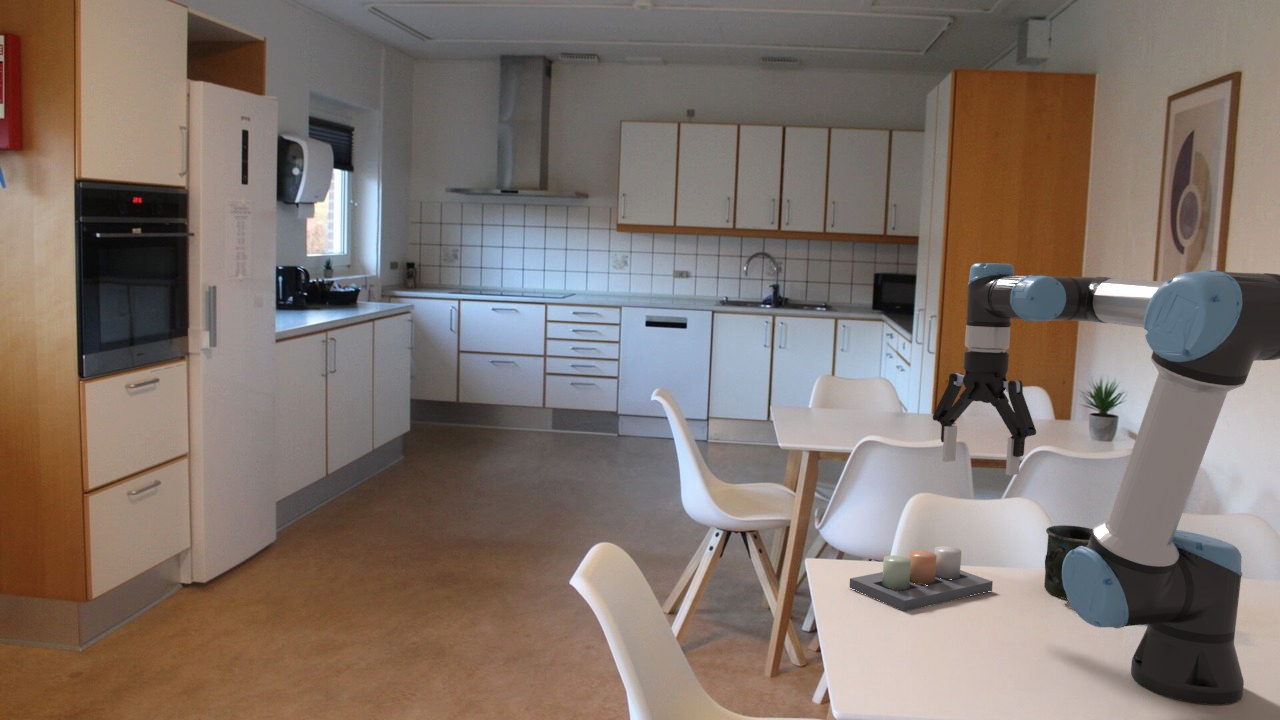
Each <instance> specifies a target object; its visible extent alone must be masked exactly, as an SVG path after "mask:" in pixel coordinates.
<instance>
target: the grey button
mask: <svg viewBox="0 0 1280 720" xmlns="http://www.w3.org/2000/svg"><path fill="white" fill-rule="evenodd" d="M934 554H936V555H937V559H936V574H935V576H937V577H941V578H942V579H945V578H946V579H945V580H948V579H956V578H959V577H960V570H961V564H962V563H961V562H962V550H961V549H960V548H957V547H953V546H946V545H945V546H943V545H942V546H941V545H940V546H935V547H934Z"/></svg>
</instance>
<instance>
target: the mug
mask: <svg viewBox="0 0 1280 720" xmlns="http://www.w3.org/2000/svg"><path fill="white" fill-rule="evenodd" d="M1045 531H1046V532H1045V533H1046V534H1047V547H1046V555H1045V559H1044V570H1045V572H1044V573H1045V575H1044V584H1043V585H1044V589H1045V590H1046V592H1047V593H1049V594H1050V595H1052V596H1054V597H1058V598H1061V599H1065V600H1068V598H1067V595H1066V592H1065V590H1064V586H1063V581H1062V566H1063V561H1064V559H1065V557H1066V555H1067V554H1068V553H1069V552H1070V551H1071V550H1074V549H1076V548H1077V547H1079V546H1084V547H1086V546H1087V545H1088V543H1089V540H1090V537H1091V534H1092V531H1093V528H1091V527H1085V526H1076V525H1066V524H1064V525H1062V524H1061V525H1052V526H1048V527H1047V528H1046V529H1045Z"/></svg>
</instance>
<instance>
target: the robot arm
mask: <svg viewBox="0 0 1280 720" xmlns="http://www.w3.org/2000/svg"><path fill="white" fill-rule="evenodd" d="M969 269H970V270H969V277H968V283H967V301H966V302H967V303H966V326H965V335H964V336H965V337H964V346H965V347H966V348H968V349H967V350H965V351H964V359H963V369H964V371H965V374H963V373H962V372H955V373H954V372H953V373H950V374H949V377H948V384H947V387H946V389H945V390H944V392H943V394H942V396H941V399H940V401H939V403H938V404H937V407H936V408H935V410H934V413H933V414H932V419H933V421H935V422H938V423H940V426H941V427H940V429H941V430H940V441H941V443H943V449H942V462H944V463H945V462H947V463H948V462H955V461H956V453H957V438H958V437H957V436H958V425H956V423H955V422H956V421H957V420H959V418H960V416H962V414H964V412H965V411H966V409H967V408H968V407H969V406H971V404H972V403H973V402H982V403H985V404H986V403H987V404H991V406H993V407H994V408H995V409H996V411H997V413H998V414H999V416H1000V418H1001V419H1002V421H1003V422H1004V425H1005V426H1006V428H1007V430H1008V431H1009V434H1011V436H1010V437H1007V447H1006V448H1007V449H1006V466H1005V475H1006V476H1015V475H1019V474H1020V463H1021V457H1023V456H1024V455H1025V443H1026V439H1027V437H1033V436H1035V435H1036V434H1037V430H1036V427H1035V424H1034V421H1033V419H1032V418H1033V417H1032V415H1031V412H1030V410H1029V407H1028V403H1027V401H1026V398H1025V396H1024V391H1023V381H1022V380H1019V379H1018V380H1009V381H1007V373H1008V371H1009V361H1010V359H1009V357H1010V355H1009V354H1008V352H1007V351H1006V350H1008V349H1009V348H1010V341H1011V339H1010V337H1011V326H1012V320H1013V319H1015V320H1021V321H1026V322H1031V323H1033V322H1036V323H1037V322H1038V323H1040V322H1041V323H1043V322H1049V321H1055V322H1056V321H1067V322H1068V321H1069V322H1070V321H1071V322H1072V321H1075V322H1076V321H1077V322H1092V323H1098V324H1111V325H1112V324H1114V325H1119V326H1120V325H1121V326H1129V327H1137V328H1143V329H1144V330H1146V331H1147V333H1146V334H1145V335H1144V336H1145V340H1146V342H1147V345H1148V346H1149V348H1150V349H1151V350H1152V352H1151V353H1152V354H1151V356H1150V359H1151V362H1152V363H1153V365H1154V366H1155V368H1156V369H1157V373H1158V374H1157V377H1156V380H1155V382H1154V386H1153V388H1152V392H1151V395H1150V397H1149V400H1148V403H1147V406H1146V409H1145V412H1144V414H1143V418H1142V421H1141V423H1140V426H1139V429H1138V432H1137V435H1136V438H1135V441H1134V444H1133V447H1132V450H1131V453H1130V456H1129V458H1128V461H1127V464H1126V467H1125V470H1124V473H1123V475H1122V479H1121V482H1120V484H1119V488H1118V491H1117V494H1116V497H1115V499H1114V502H1113V506H1112V509H1111V512H1110V514H1109V517H1108V518H1106V519H1104V520H1101V521H1099V522H1097V523H1096V524H1095V525H1094V526H1093V528H1092V529H1093V531H1092V534H1091V537H1090V540H1089V543H1088V545H1087V546H1086V547H1084V546H1079V547H1077V548H1076V549H1074V550H1071V551H1070V552H1069V553H1068V554H1067V555H1066V557H1065V559H1064V561H1063V566H1062V581H1063V586H1064V590H1065V592H1066V595H1067V598H1068V599H1067V601H1068V603H1069V604H1070V606H1071V607H1072V609H1073V611H1074V612H1075V613H1076V614H1077V615H1078V617H1080V618H1081V620H1083V621H1084V622H1086V623H1087V624H1089V625H1091V626H1093V627H1097V628H1113V629H1121V628H1124V627H1131V626H1143V625H1144V626H1145V625H1147V626H1146V629H1145V631H1144V633H1143V636H1142V638H1141V640H1140V642H1139V643H1138V646H1137V648H1136V650H1135V652H1134V654H1133V656H1132V658H1131V667H1130V676H1131V678H1132V679H1133V680H1134V681H1135V682H1137V683H1138V684H1139V685H1141V686H1142V687H1144V688H1146V689H1148V690H1150V691H1151V692H1154V693H1157V694H1160V695H1162V696H1164V697H1168V698H1171V699H1174V700H1178V701H1184V702H1189V703H1193V704H1201V705H1214V706H1215V705H1216V706H1217V705H1219V706H1220V705H1229V704H1234V703H1237V702H1239V701H1240V700H1241V699H1242V698H1243V694H1244V693H1243V692H1244V685H1245V684H1244V682H1245V681H1244V677H1243V673H1242V669H1241V666H1240V662H1239V657H1238V654H1237V650H1236V646H1235V637H1236V635H1235V634H1236V633H1235V632H1236V628H1237V627H1236V626H1237V619H1238V607H1239V600H1240V590H1241V581H1242V580H1241V579H1242V577H1243V572H1242V553H1241V552H1240V550H1239V549H1238V547H1236V546H1235V545H1233V544H1231V543H1229V542H1227V541H1225V540H1222V539H1218V538H1215V537H1212V536H1208V535H1203V534H1199V533H1197V532H1196V533H1195V532H1191V531H1185V530H1181V529H1180V530H1179V529H1177V528H1178V526H1179V524H1180V521H1181V518H1182V516H1183V513H1184V511H1185V510H1184V509H1185V508H1186V504H1187V501H1188V499H1189V497H1190V494H1191V491H1192V488H1193V486H1194V483H1195V480H1196V479H1197V476H1198V475H1197V474H1198V473H1199V470H1200V467H1201V464H1202V461H1203V460H1204V456H1205V454H1206V451H1207V448H1208V446H1209V443H1210V440H1211V438H1212V435H1213V432H1214V430H1215V427H1216V424H1217V422H1218V419H1219V417H1220V413H1221V410H1222V408H1223V406H1224V404H1225V400H1226V399H1227V398H1226V397H1227V394H1228V393H1229V392H1231V391H1233V390H1236V389H1238V388H1240V387H1243V386H1244V385H1245V384H1246V381H1247V380H1248V379H1247V378H1248V376H1249V373H1250V371H1251V368H1252V365H1253V363H1254V362H1255V361H1275V360H1280V274H1279V273H1265V272H1264V273H1259V272H1257V273H1255V272H1234V271H1233V272H1231V271H1218V270H1214V269H1213V270H1210V269H1209V270H1208V269H1207V270H1201V271H1191V272H1190V271H1188V272H1184V273H1180V274H1178V275H1176V276H1173V277H1172V278H1169V279H1168V280H1166V281H1160V280H1159V281H1158V280H1157V281H1156V280H1143V279H1142V280H1141V279H1125V278H1123V279H1122V278H1111V277H1107V276H1095V277H1090V276H1084V277H1083V276H1082V277H1081V276H1058V275H1057V276H1054V275H1053V276H1052V275H1044V274H1030V275H1028V274H1027V275H1025V274H1023V275H1022V274H1021V275H1019V274H1018V275H1015V267H1014V265H1013V264H1011V263H993V262H992V263H991V262H988V263H984V262H977V263H973V264H972V265H971V267H970V268H969ZM962 386H964V387H965V389H964V390H963V391H962V392H961V394H959V393H960V391H961V389H962ZM1005 391H1006V392H1007V395H1008V397H1007V395H1006V393H1005ZM958 394H959V398H958V399H957V397H958ZM1008 398H1009V399H1008ZM956 399H957V400H956ZM955 401H956V402H955ZM1009 402H1010V403H1009ZM1010 404H1011V405H1010Z"/></svg>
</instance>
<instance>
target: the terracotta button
mask: <svg viewBox="0 0 1280 720" xmlns="http://www.w3.org/2000/svg"><path fill="white" fill-rule="evenodd" d="M909 559H910V560H911V569H910V581H912V582H914V583H918V585H919V584H920V585H923V584H932V583H935V574H936V559H937V555H936V554H934V553H933V552H931V551H925V550H913V551H910V552H909Z"/></svg>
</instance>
